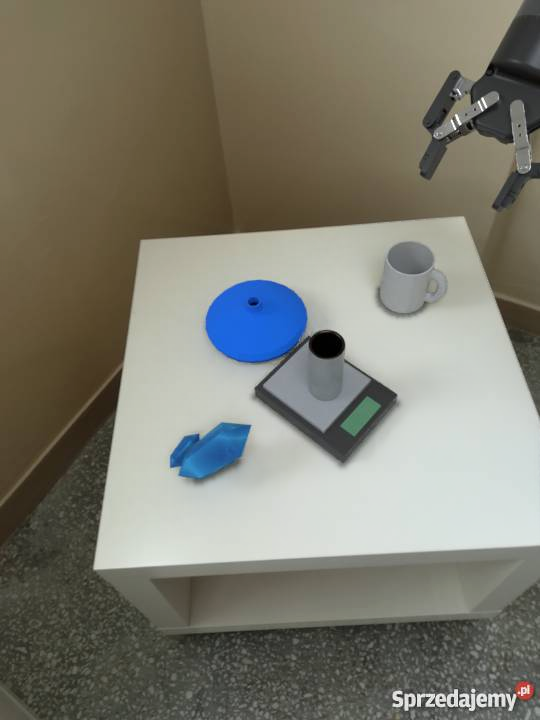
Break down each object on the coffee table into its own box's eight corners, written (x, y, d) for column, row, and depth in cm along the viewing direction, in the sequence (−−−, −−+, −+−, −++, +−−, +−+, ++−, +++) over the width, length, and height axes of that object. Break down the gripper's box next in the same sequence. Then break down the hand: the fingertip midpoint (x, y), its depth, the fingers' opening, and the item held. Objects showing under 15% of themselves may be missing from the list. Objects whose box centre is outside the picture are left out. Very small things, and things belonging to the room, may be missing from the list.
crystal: (148, 443, 66) (227, 389, 67) (177, 462, 74) (247, 413, 74) (172, 492, 63) (255, 434, 63) (200, 507, 70) (274, 455, 71)
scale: (395, 402, 75) (398, 391, 72) (343, 463, 70) (344, 453, 68) (308, 344, 82) (308, 331, 79) (255, 396, 77) (253, 384, 74)
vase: (326, 345, 81) (326, 317, 75) (232, 388, 78) (225, 362, 72) (279, 279, 89) (277, 248, 84) (193, 315, 86) (184, 286, 81)
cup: (389, 275, 88) (396, 235, 81) (448, 294, 85) (461, 254, 78) (372, 305, 85) (378, 266, 77) (433, 326, 82) (445, 288, 74)
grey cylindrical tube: (310, 372, 75) (310, 328, 66) (342, 374, 74) (346, 330, 66) (307, 399, 72) (306, 357, 64) (340, 402, 72) (344, 360, 63)
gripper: (475, -6, 51) (391, 159, 56) (628, 35, 45) (517, 215, 50) (489, 31, 57) (412, 176, 62) (624, 71, 51) (526, 227, 56)
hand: (459, 193), depth 56 cm, fingers open, 8 cm apart
